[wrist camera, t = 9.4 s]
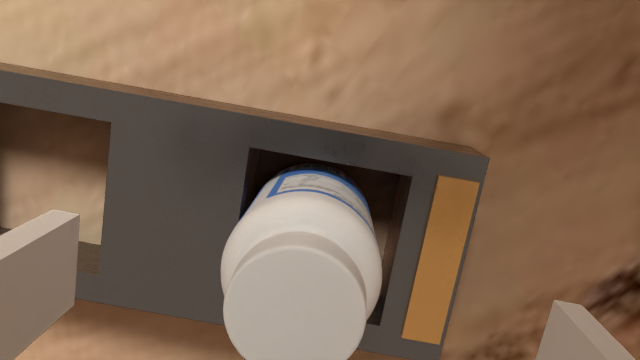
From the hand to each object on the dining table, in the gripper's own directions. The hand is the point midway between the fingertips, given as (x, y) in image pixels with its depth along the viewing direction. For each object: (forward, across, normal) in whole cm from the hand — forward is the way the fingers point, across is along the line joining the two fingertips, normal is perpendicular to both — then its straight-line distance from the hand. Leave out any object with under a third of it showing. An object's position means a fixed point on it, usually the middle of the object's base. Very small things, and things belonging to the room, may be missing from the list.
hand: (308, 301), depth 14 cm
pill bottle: (+10, 0, -1) cm, 10 cm away
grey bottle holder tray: (+10, -6, -1) cm, 11 cm away
